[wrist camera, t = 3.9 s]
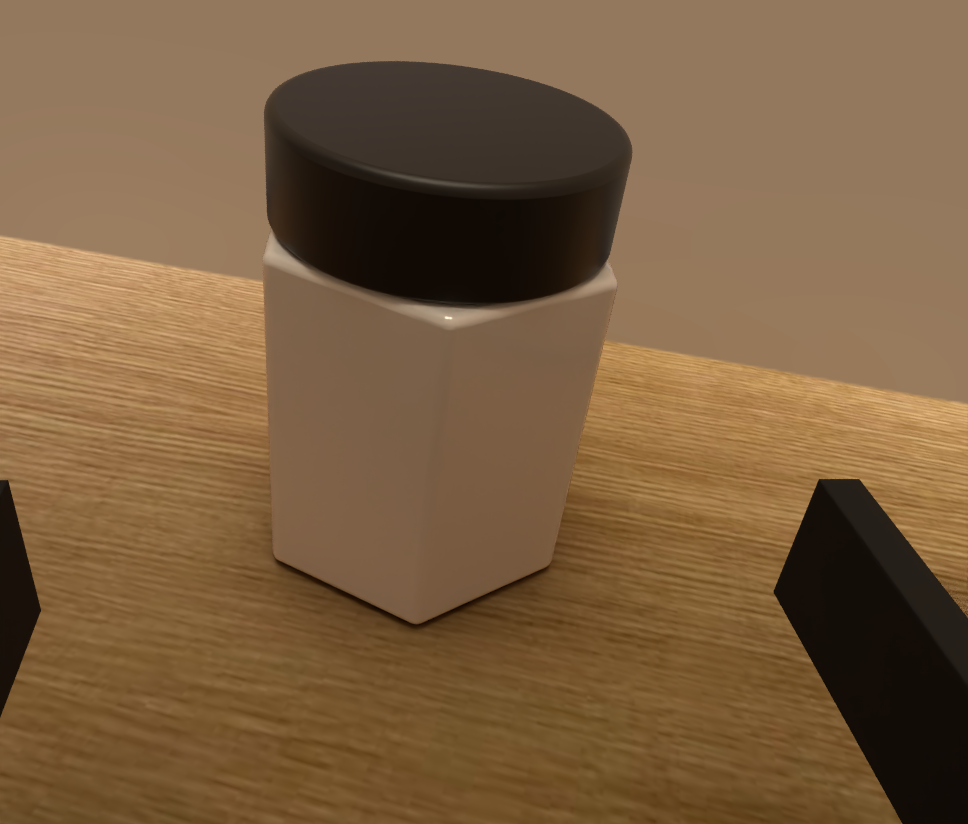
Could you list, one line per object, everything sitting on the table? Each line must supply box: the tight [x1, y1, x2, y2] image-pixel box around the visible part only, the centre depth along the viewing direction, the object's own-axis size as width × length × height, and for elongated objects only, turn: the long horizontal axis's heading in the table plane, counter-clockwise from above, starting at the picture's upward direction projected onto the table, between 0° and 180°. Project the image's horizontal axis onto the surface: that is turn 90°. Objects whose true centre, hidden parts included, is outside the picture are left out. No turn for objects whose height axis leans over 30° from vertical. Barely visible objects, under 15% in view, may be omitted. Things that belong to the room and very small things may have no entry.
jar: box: [263, 61, 632, 624], centre depth 23 cm, size 9×8×12 cm
